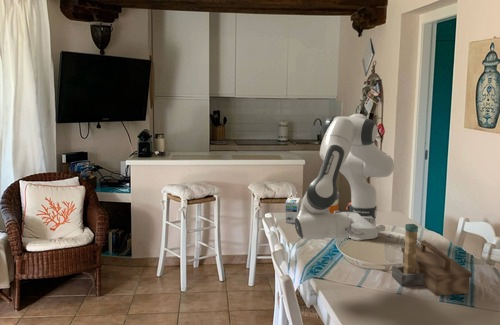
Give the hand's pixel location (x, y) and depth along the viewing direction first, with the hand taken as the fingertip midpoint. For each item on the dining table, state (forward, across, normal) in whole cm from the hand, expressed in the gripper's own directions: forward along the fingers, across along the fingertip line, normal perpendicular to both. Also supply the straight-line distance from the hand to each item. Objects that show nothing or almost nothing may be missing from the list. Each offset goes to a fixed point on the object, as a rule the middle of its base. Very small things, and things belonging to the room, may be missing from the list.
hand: (379, 224), depth 176 cm
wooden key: (+12, 0, +22) cm, 25 cm away
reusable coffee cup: (+3, +76, +21) cm, 79 cm away
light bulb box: (-13, +80, +22) cm, 84 cm away
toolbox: (+18, 0, +22) cm, 28 cm away
